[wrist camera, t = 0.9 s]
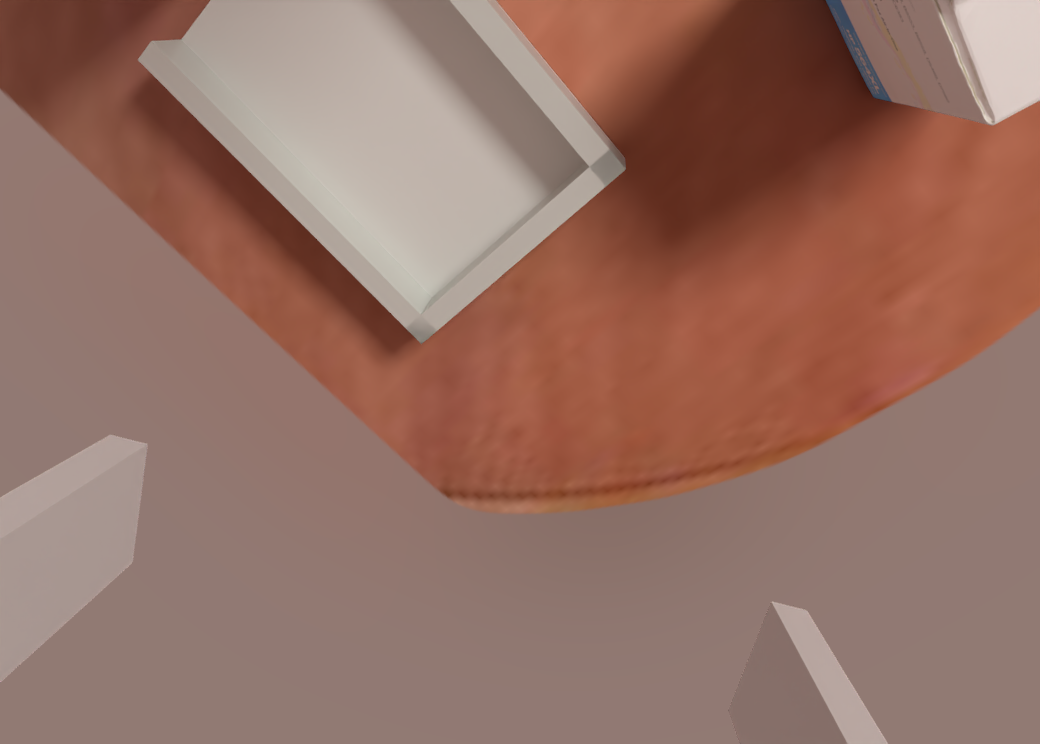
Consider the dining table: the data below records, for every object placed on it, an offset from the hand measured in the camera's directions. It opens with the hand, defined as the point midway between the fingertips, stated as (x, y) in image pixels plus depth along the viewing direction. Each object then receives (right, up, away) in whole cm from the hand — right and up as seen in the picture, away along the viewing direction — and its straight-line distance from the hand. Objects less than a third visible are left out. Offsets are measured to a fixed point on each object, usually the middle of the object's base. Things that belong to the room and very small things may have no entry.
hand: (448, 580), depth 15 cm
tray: (-5, +18, +22) cm, 28 cm away
